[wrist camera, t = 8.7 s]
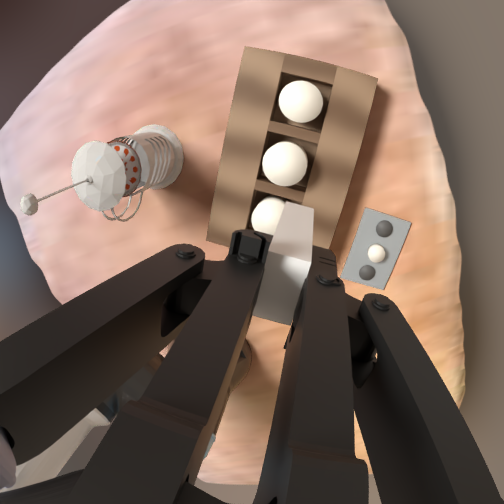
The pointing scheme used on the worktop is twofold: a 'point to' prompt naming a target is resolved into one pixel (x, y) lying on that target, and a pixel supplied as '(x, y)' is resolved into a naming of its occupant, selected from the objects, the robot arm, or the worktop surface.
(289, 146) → the button
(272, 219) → the button
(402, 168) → the worktop surface
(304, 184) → the board
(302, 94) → the button
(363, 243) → the card
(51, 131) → the worktop surface
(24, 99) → the worktop surface
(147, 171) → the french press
